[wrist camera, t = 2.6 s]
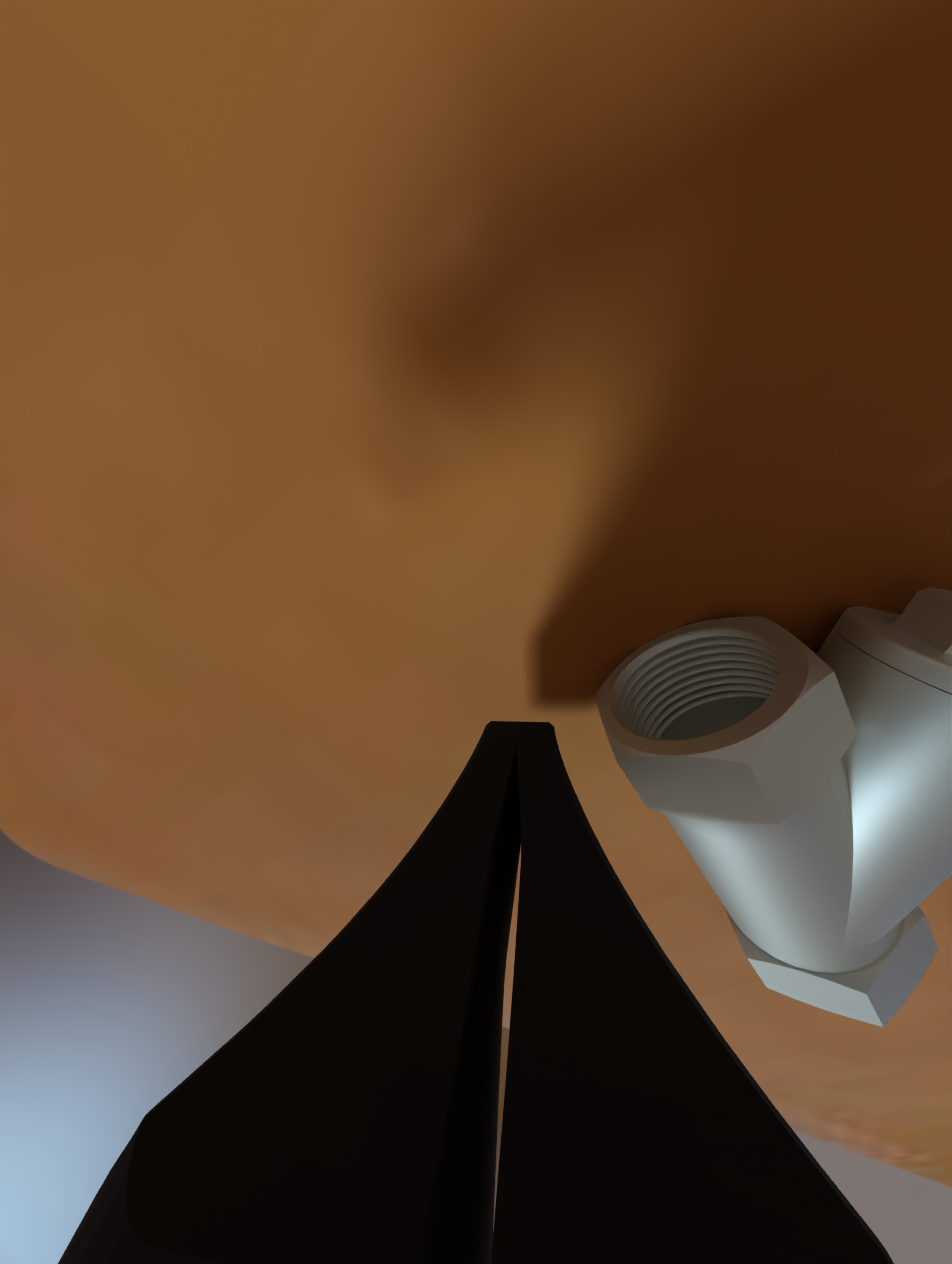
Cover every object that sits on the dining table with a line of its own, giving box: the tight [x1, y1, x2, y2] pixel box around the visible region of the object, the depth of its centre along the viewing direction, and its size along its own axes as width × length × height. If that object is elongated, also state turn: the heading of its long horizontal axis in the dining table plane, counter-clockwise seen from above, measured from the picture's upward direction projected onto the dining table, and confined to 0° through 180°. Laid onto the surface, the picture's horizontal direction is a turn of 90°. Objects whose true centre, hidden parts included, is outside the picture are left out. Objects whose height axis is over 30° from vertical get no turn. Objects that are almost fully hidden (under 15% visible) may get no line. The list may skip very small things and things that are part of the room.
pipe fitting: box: [596, 587, 952, 1027], centre depth 8 cm, size 8×4×7 cm
